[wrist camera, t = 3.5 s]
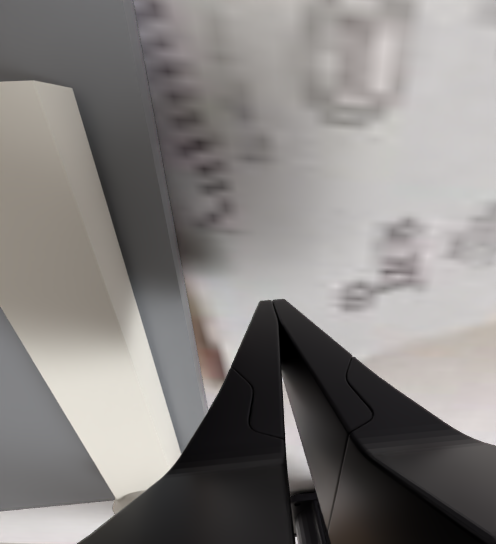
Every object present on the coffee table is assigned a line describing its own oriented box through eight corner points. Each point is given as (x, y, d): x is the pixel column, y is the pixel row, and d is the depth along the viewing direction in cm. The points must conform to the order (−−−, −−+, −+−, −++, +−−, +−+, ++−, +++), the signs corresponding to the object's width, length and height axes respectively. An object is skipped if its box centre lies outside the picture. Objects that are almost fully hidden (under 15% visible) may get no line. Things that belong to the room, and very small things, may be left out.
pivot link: (200, 489, 16) (198, 521, 15) (132, 496, 16) (124, 529, 15) (93, 87, 7) (59, 79, 5) (-81, 95, 6) (-161, 88, 5)
